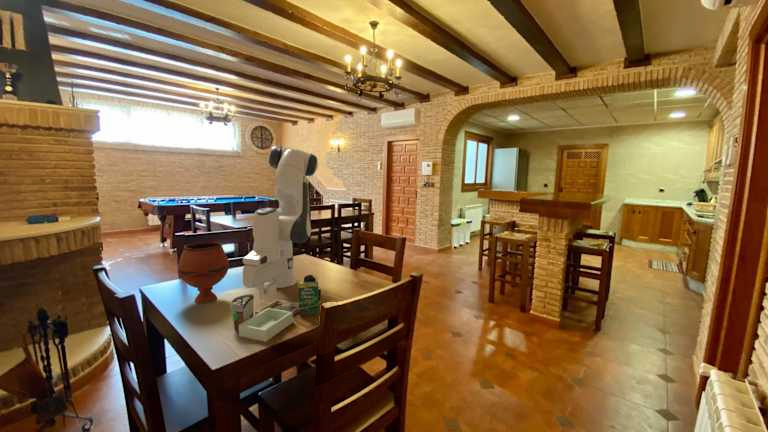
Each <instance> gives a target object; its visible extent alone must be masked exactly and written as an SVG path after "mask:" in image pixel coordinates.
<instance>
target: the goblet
mask: <svg viewBox="0 0 768 432" xmlns="http://www.w3.org/2000/svg"><path fill="white" fill-rule="evenodd" d="M229 267H230V262H229V259H228V257H227V254H226V252H225V250H224V248H223V244H222V242H220V241H205V242H202V241H201V242H195V243H194V242H193V243H187V244H184V246H183V251H182V252H181V256H180V258H179V261H178V265H177V272H178V276H179V278H180V279H181V280H182V281H183V282H184V283H185V284H187V285H188V286H190V287H193V288H197V291H198V294H197V295H196V297H195V298H194V301H193V302H194V303H196V304H199V305H200V304H208V303H212V302H215V301H216V300H217V299H218V296H217V294H216V293H214V292H213V289H214V286H216V285H217V284H218V283H220V282H221V281H222V280H223V279H224V278H225V277H226V276H227V274H228V271H229Z"/></svg>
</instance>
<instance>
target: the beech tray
mask: <svg viewBox="0 0 768 432" xmlns="http://www.w3.org/2000/svg"><path fill="white" fill-rule="evenodd" d="M283 303H292V311H290V312H293V315H295V314H297V313H299V306H298V302H294V301H287V300H282V299H274V300H273V301H272V302H270V303H268V304H266V305H265V306H262V307H261V308H259V309H257V310H255V311H254V314H255V315H257V314H259V313H260V312H262V311H264V310H266V309H267V308H273V307H274V306H276V305H280V306H281V305H282V304H283ZM293 307H294V309H293ZM255 315H254V316H255Z"/></svg>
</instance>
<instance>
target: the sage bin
mask: <svg viewBox="0 0 768 432" xmlns="http://www.w3.org/2000/svg"><path fill="white" fill-rule="evenodd" d="M293 317H294V314H293V312H289V311H283V310H281V309H279V308H278V309H276V308H273V307H271V308H267V309H266V310H264V311H262V312H260V313H259V314H257V315H253V317H252V318H250V319H248V320H246V321H245V322H243V323H241V324H240V325H239V331H238V337H240V338H241V337H242V338H247V339H251V340H256V341H259V342H264V343H266V342H267V341H269V340H270V339H272V338H273V337H274V336H277V334H278V333H280V332H281V331H283V330H284V329H285V328H287V327H289V325H291V324H292V323H293V322H294V319H293Z"/></svg>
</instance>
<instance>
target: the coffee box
mask: <svg viewBox="0 0 768 432" xmlns="http://www.w3.org/2000/svg"><path fill="white" fill-rule="evenodd" d="M318 286H319V281H318V282H304V281H301V282H300V281H299V282H298V283H297V296H298V297H297V298H298V299H297V301H298V302H297V303H298V306H299V311H298V316H308V315H309V316H310V315H311V316H317V315H319V308H320V307H319V305H320V304H319V301H318Z"/></svg>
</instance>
